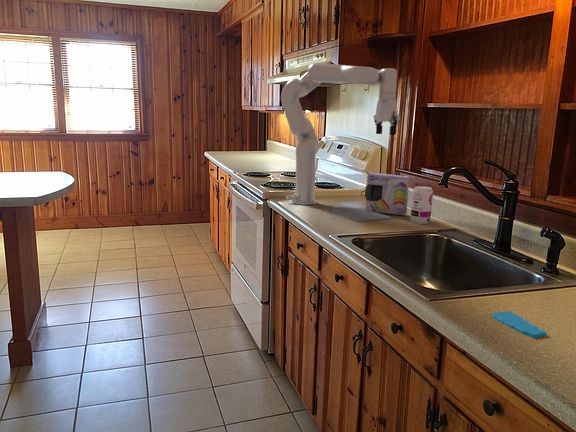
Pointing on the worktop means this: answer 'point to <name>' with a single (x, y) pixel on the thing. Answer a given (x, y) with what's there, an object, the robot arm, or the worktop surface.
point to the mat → (361, 214)
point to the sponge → (519, 324)
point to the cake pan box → (387, 193)
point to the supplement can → (421, 205)
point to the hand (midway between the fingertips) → (385, 134)
